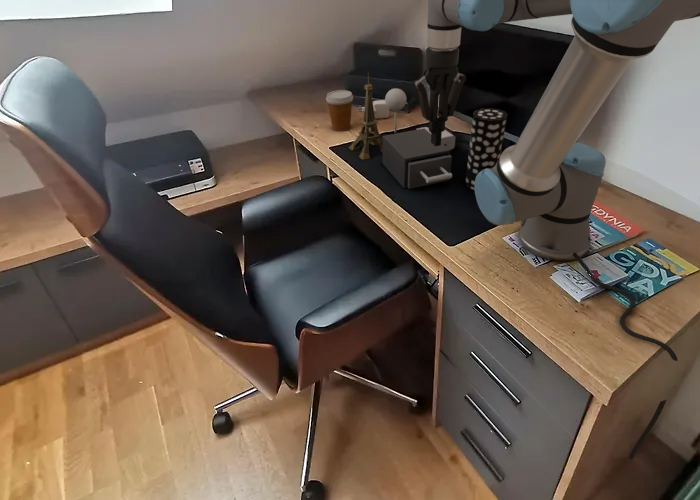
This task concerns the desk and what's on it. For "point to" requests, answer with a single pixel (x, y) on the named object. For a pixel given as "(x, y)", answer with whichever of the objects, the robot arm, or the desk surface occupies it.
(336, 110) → the disposable coffee cup
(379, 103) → the power adapter
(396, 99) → the lollipop
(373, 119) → the eiffel tower
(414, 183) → the drawer
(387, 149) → the cabinet
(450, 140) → the charger
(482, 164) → the white-spotted black cylinder
